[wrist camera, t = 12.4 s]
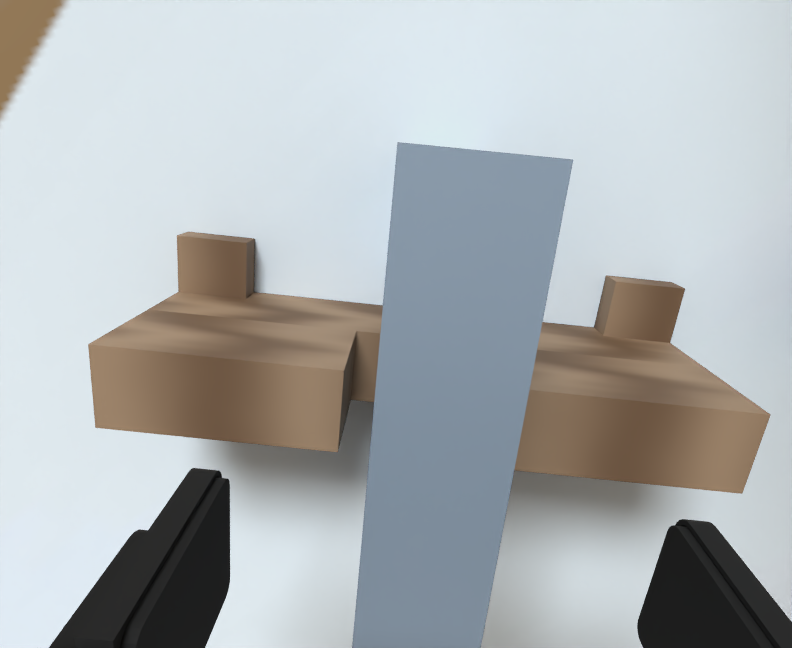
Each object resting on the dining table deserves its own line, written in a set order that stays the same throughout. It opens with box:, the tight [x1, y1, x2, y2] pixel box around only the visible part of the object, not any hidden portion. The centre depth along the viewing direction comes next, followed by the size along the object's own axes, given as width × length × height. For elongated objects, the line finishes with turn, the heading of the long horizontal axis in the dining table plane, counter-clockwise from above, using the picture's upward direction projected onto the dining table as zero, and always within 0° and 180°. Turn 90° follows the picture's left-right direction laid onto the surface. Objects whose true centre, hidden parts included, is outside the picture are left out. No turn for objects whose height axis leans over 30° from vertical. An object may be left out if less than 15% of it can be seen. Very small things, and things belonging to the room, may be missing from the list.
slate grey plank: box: [352, 142, 573, 648], centre depth 18 cm, size 17×3×14 cm, turn 175°
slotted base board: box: [88, 232, 770, 494], centre depth 21 cm, size 22×8×8 cm, turn 84°
